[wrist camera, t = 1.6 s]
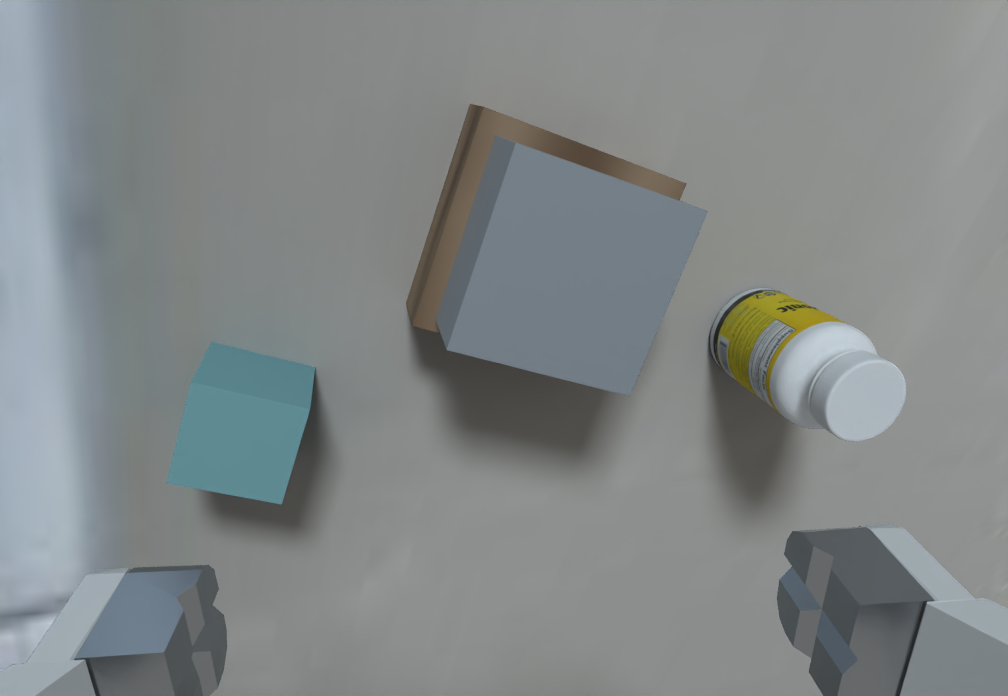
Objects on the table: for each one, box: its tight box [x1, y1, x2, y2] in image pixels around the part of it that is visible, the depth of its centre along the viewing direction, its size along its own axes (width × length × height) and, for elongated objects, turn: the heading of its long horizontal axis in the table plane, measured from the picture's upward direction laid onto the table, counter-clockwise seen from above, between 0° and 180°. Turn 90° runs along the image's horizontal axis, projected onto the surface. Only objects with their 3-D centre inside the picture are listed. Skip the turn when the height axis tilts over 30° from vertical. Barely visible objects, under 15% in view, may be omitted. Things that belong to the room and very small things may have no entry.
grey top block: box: [436, 135, 708, 396], centre depth 30 cm, size 8×8×4 cm
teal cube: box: [166, 342, 315, 505], centre depth 33 cm, size 5×5×5 cm
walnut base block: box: [406, 104, 686, 334], centre depth 34 cm, size 10×10×4 cm
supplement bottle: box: [710, 288, 906, 442], centre depth 36 cm, size 5×5×10 cm
